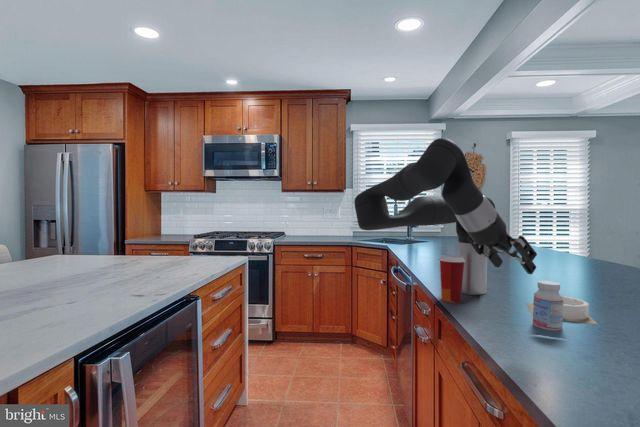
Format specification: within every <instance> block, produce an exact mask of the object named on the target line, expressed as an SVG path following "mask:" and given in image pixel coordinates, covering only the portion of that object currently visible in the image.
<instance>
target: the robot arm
mask: <svg viewBox="0 0 640 427" xmlns="http://www.w3.org/2000/svg"><path fill="white" fill-rule="evenodd" d="M464 154H465V153H464V152H463V150H462V148H461V147H460V146H459V145H458V144H457V143H456V142H454V141H453V140H451V139H449V138H445V137H441V138H440V137H439V138H436V139H434V140H432V142H430V144H429V145H428V146H427V147H426V149H425V150H424V152H423V153H422V154H421V156H420V157H419V159H418V160H417V161H416V162H411V163H409V164H407V165H406V166H404V167H403V168H401V169H400V170H399V171H398V172H397V173H395V174H394V175H393V176H391V177H390V178H387V179H386V180H384V181H382V182H380V183H377V184H375V185H373V186H371V187H369V188H368V189H365V190H363V191H361V192H360V193H358V194H357V195H355V196H356V197H354V201H353V202H354V210H355V215H356V220H357V224H358V227H359V228H360V229H361V230H364V231H377V230H378V231H379V230H385V229H393V228H395V229H396V228H399V227H400V228H401V227H419V226H421V227H424V226H425V227H427V226H437V225H438V226H439V225H440V226H441V225H446V224H447V225H448V224H455V230H456V236H457V238H458V240H457V243H458V244H457V245H458V246H457V247H458V248H457V255H459V256H463V258H464V260H465V262H464V270H463V281H462V293H461V294H465V295H471V296H480V295H485V294H486V293H487V282H488V281H487V280H488V279H487V277H488V275H487V274H488V260H489V262H491V264H492V265H494V267H495V268H500V267H501V265H502V264H503V259H502V258H501V256H499V254H498V253H500V254H502V255H504V256H506V257H507V258H508V259H511V260H513V259H514V260H515V261H517V262H518V263H519V264H520V265H521V267H522V268H523V269H524V271H525V272H526V273H527V275H533V274H534V272H535V271H536V269H537V266H536V263H534V259H535V258H536V257H537V256H538V253H537V252H536V251H535V249H534V248H533V247H532V245H531V244H530V243H529V242H528V240H527V239H526V238H525V237H524V236H523V235H519V236H518V237H517V238H515V237H512V236H511V235H509V234H508V232H507V224H506V222H505V221H504V220H503V218H502V217H501V216H500V214H499V213H498V211H497V210H496V205H495V203H494V201H493V200H492V199H491V198H490V197H488V196H486V195H484V194H483V192H482V191H481V189H480V188H479V187H478V185H477V184H476V183H475V181H474V180H473V176H472V172H471V170H470V168H469V165H468V162H467V158H466V156H465V155H464ZM440 187H443V188H442V192H441V196H438V195H437V196H436V195H422V196H421V195H420V194H421V193H424V192H427V191H431V190H432V191H433V190H436V189H438V188H440ZM419 195H420V196H419ZM417 196H418V197H417ZM386 197H387V198H389V199H392V200H395V201H398V202H404V201H409V200H411V199H412V200H411V201H410V202H409V203H407V205H406V206H404V208H402V210H400V211H399V212H398V213H396V214H394V215H391V214H390V212H389V208H388V203H387V199H386ZM512 247H514V248H513V249H514V250H513V251H512V252H510V251H511V250H512ZM518 254H519V255H518Z"/></svg>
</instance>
